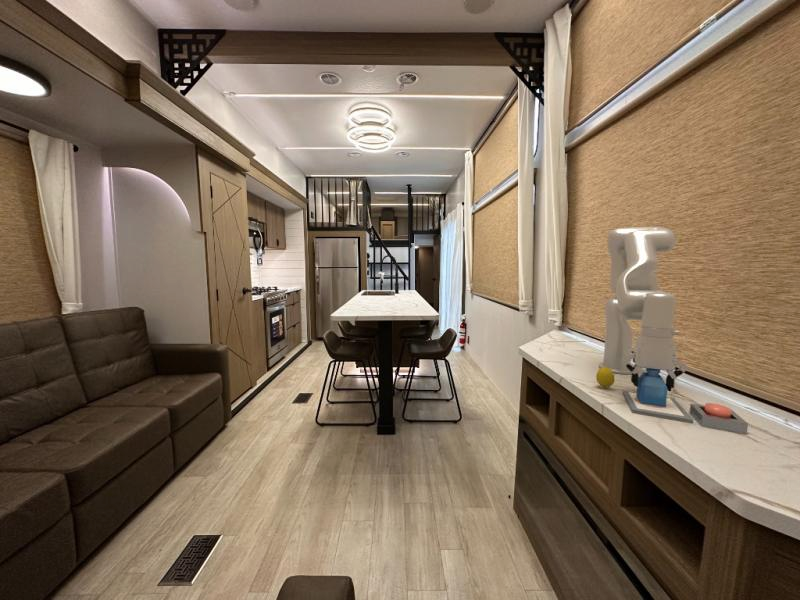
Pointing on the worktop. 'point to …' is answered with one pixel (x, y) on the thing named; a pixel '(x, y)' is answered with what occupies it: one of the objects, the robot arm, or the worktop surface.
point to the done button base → (718, 420)
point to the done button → (717, 410)
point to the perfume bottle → (652, 388)
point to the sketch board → (657, 408)
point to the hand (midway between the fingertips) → (651, 387)
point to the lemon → (605, 377)
